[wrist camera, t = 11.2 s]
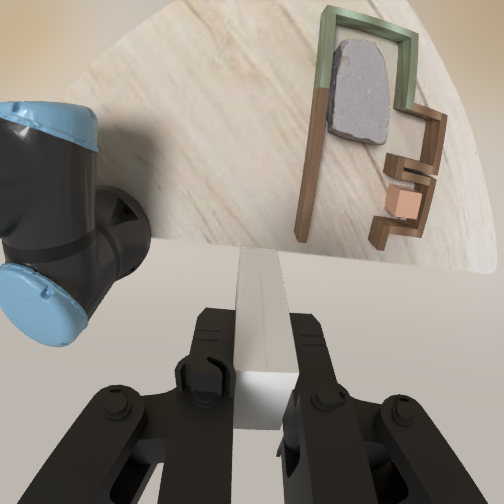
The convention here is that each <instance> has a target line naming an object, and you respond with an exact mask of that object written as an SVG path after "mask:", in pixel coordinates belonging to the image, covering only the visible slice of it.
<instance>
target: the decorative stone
mask: <svg viewBox="0 0 504 504" xmlns="http://www.w3.org/2000/svg"><path fill="white" fill-rule="evenodd" d="M389 106H390V102H389V85H388V79H387V72H386V67H385V62H384V58H383V56H382V54H381V52H380V50H379V49H378V47H377V46H376V44H375V42H371V41H364V40H344V41H342V42H341V43H340V45H339V46H338V48H337V49H336V51H335V52H334V54H333V60H332V70H331V80H330V89H329V98H328V106H327V114H326V115H327V120H328V124H329V125H328V132H331V133H333V134H335V135H337V136H340V137H343V138H346V139H351V140H355V141H361V142H365V143H369V144H374V145H384V144H385V143H386V140H387V135H388V127H387V126H388V124H389V117H390V108H389Z"/></svg>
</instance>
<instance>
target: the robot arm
mask: <svg viewBox="0 0 504 504" xmlns="http://www.w3.org/2000/svg"><path fill="white" fill-rule="evenodd" d="M97 153H99V149H98V147H97V117H96V115H95V113H94V112H93V111H92V110H91V109H90V108H88V107H85V106H81V105H75V104H68V103H59V102H42V101H24V102H21V101H20V102H2V103H0V238H1V239H2V244H3V250H4V254H5V260H6V262H5V264H2V265H1V266H0V307H1V308H2V310H3V312H4V313H5V314H6V316H7V317H8V318H9V320H10V321H11V322H12V323H13V324H14V325H15V326H16V327H17V328H19V330H21V331H22V332H23V333H24V334H25V335H27V336H28V337H30V338H31V339H33V340H35V341H37V342H39V343H42V344H44V345H48V346H51V347H63V346H67V345H69V344H70V343H72V342H74V340H75V339H76V338H77V337H78V336H79V334H80V333H81V332H82V331H83V330H84V329H85V328H86V327H87V325H88V321H89V319H90V318H91V316H92V315H93V313H94V312H95V310H96V309H97V307H98V305H99V304H100V303H101V301H102V300H103V298H104V296H105V295H106V294H107V292H108V291H109V289H110V288H111V286H112V285H113V283H114V282H115V281H117V280H119V279H121V278H123V277H125V276H127V275H129V274H131V273H132V272H134V271H135V270H136V269H137V268H138V267H139V266H140V264H141V263H142V262H143V260H144V259H145V257H146V255H147V253H148V250H149V248H150V242H151V231H150V226H149V222H148V219H147V217H146V214H145V212H144V211H143V209H142V208H141V206H140V205H139V204H138V202H137V201H136V200H135V199H134V198H133V197H132V196H130V195H129V194H128V193H126V192H124V191H122V190H120V189H118V188H115V187H110V186H99V187H96V167H97ZM323 336H324V335H323V331H322V328H321V324H320V323H319V322H318V321H317V320H316V318H315V317H314V316H313V315H312V314H301V313H289V311H288V305H287V300H286V294H285V289H284V283H283V278H282V273H281V268H280V263H279V258H278V252H277V249H269V248H257V247H246V246H240V257H239V268H238V280H237V291H236V302H235V310H227V309H215V308H205V309H204V310H203V311H202V313H201V314H200V315H199V316H198V317H197V321H196V327H195V330H194V336H193V340H192V344H191V349H190V354H189V355H188V356H186V357H185V358H183V359H182V360H181V361H179V362H178V364H177V366H176V368H175V378H176V385H177V387H176V388H174V389H173V390H171V391H168V392H166V393H161V394H155V395H145V396H140V394H139V393H138V392H137V391H135V390H134V389H132V388H131V387H128V386H124V385H110V386H108V387H105V388H103V389H101V390H100V391H99V392H98V393H96V394H95V395H94V397H93V398H92V399H91V400H90V402H89V403H88V404H87V406H86V407H85V408H84V410H83V411H82V412H81V414H80V415H79V416H78V418H77V419H76V420H75V422H74V423H73V425H72V426H71V427H70V429H69V430H68V431H67V433H66V434H65V435H64V437H63V438H62V439H61V441H60V443H59V444H58V445H57V447H56V448H55V449H54V451H53V452H52V453H51V455H50V456H49V458H48V459H47V460H46V462H45V463H44V465H43V466H42V468H41V469H40V470H39V472H38V473H37V475H36V476H35V478H34V479H33V481H32V482H31V483H30V485H29V486H28V488H27V489H26V491H25V492H24V494H23V495H22V497H21V498H20V500H19V501H18V503H17V504H137V503H138V501H139V499H140V497H141V495H142V493H143V491H144V489H145V487H146V485H147V483H148V482H149V479H150V478H151V476H152V474H153V472H154V470H155V468H156V466H157V464H158V463H164V466H163V471H162V478H161V484H160V490H159V496H158V503H157V504H231V481H232V446H233V445H232V444H233V428H234V429H254V430H255V429H256V430H280V428H281V425H282V422H283V432H284V436H283V438H282V441H281V443H280V445H279V448H278V450H277V455H276V456H277V457H280V455H281V458H282V472H283V487H284V502H285V504H488V503H487V501H486V500H485V498H484V497H483V495H482V493H481V492H480V490H479V489H478V487H477V486H476V484H475V483H474V481H473V480H472V478H471V476H470V475H469V473H468V472H467V470H465V467H464V466H463V465H462V463H461V462H460V460H459V459H458V457H457V456H456V454H455V453H454V451H453V450H452V448H451V447H450V445H449V444H448V443H447V441H446V440H445V438H444V437H443V435H442V434H441V433H440V431H439V430H438V428H437V427H436V426H435V424H434V423H433V421H432V420H431V419H430V417H429V416H428V414H427V413H426V412H425V410H424V409H423V408H422V406H421V405H420V404H419V403H418V402H417V401H416V400H415V399H413V398H411V397H409V396H406V395H400V394H398V395H393V396H390V397H389V398H387V399H385V400H384V402H383V403H382V404H376V403H371V402H366V401H361V400H358V399H355V398H353V397H351V396H350V395H349V393H348V391H347V390H346V389H345V388H344V387H343V386H341V385H340V384H338V382H337V380H336V377H335V373H334V369H333V366H332V362H331V359H330V355H329V352H328V348H327V346H326V342H325V338H324V337H323Z"/></svg>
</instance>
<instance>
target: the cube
mask: <svg viewBox="0 0 504 504" xmlns="http://www.w3.org/2000/svg"><path fill="white" fill-rule="evenodd" d="M421 198H422V193H420V192H418V191H416V190H415V189H413V188H411V187H407V186H402V185H396V184H390V183H389V187H388V192H387V197H386V202H385V207H384V208H385V209H386V210H387V211H389V212H390V213H391V214H392V215H394V216H395V217H403V218H410V219H417V216H418V211H419V207H420V203H421Z"/></svg>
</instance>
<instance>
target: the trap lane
mask: <svg viewBox="0 0 504 504" xmlns="http://www.w3.org/2000/svg"><path fill="white" fill-rule="evenodd" d="M336 24H338V25H342V26H346V27H350V28H354V29H358V30H361V31H365V32H368V33H371V34H375V35H378V36H381V37H384V38H387V39H390V40H393V41H396V42H398V43H399V49H398V64H397V77H396V87H395V97H394V105H393V108H394V109H398V110H401V111H404V112H407V113H411V114H414V115H417V116H420V117H423V118H425V119H426V126H425V133H424V139H423V146H422V151H421V157H420V161H417V160H413V159H410V158H406V157H402V156H398V155H394V154H390V153H386V159H385V164H384V170H383V172H384V173H386V174H388V175H390V176H392V177H394V178H398V179H402V180H407V181H411V182H415V187H414V189H415V190H416V191H418V192H420V193H422V198H421V203H420V207H419V211H418V216H417V219H410V218H407V220H400V219H394V218H387V217H380V216H374V217H373V221H372V225H371V229H370V233H369V237H368V240H369V241H370V242H371V243H372V244H373V246H374V247H375V248H376V249H377V250H382V251H384V249H385V245H386V242H387V238H388V234H397V235H404V236H412V237H419V238H422V234H423V231H424V228H425V224H426V220H427V217H428V213H429V209H430V205H431V201H432V197H433V193H434V189H435V185H436V180H437V179H434V178H432V177H430V176H428V175H425V174H423V173H419V172H415V171H411V170H407V169H404V167H406V168H410V169H414V170H418V171H422V172H426V173H429V174H433V175H438V171H439V166H440V160H441V155H442V149H443V144H444V137H445V131H446V123H447V116H448V115H446V114H443V113H441V112H438V111H435V110H433V109H430V108H427V107H425V106H422V105H419V104H416V103H414V98H415V88H416V77H417V62H418V39H419V34H418V33H415V32H413V31H411V30H408V29H406V28H403V27H400V26H398V25H395V24H392V23H389V22H387V21H384V20H381V19H378V18H375V17H371V16H368V15H365V14H361V13H358V12H354V11H351V10H347V9H343V8H339V7H335V6H330V5H327V6H326V8H325V9H324V10H323V12H322V13H321V20H320V31H319V43H318V53H317V63H316V73H315V82H314V91H313V100H312V108H311V117H310V125H309V132H308V140H307V148H306V155H305V162H304V169H303V176H302V183H301V190H300V197H299V203H298V210H297V216H296V222H295V229H294V232H295V235H296V238H297V241H298V242H302V243H306V242H307V237H308V231H309V226H310V220H311V214H312V208H313V203H314V197H315V190H316V184H317V178H318V171H319V165H320V158H321V151H322V144H323V137H324V130H325V122H326V114H327V106H328V98H329V89H330V80H331V70H332V60H333V49H334V38H335V25H336Z"/></svg>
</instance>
